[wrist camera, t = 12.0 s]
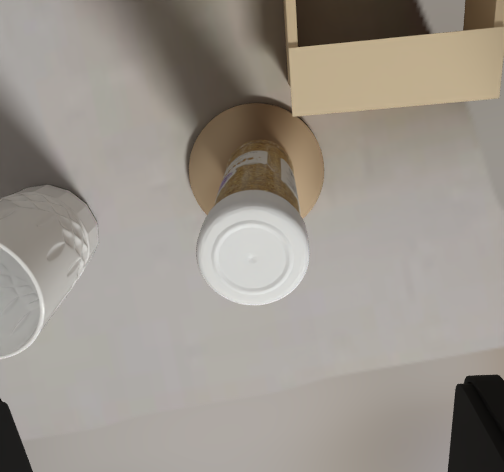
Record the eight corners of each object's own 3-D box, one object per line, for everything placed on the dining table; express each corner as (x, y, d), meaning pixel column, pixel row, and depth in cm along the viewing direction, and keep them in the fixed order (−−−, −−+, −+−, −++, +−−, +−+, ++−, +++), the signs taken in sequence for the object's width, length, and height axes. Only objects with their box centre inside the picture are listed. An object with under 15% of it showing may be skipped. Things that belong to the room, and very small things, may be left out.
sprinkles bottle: (233, 131, 29) (206, 190, 17) (302, 147, 29) (325, 218, 17) (219, 197, 31) (185, 296, 18) (284, 212, 31) (293, 320, 19)
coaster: (321, 96, 29) (321, 97, 28) (325, 229, 32) (326, 231, 31) (180, 109, 29) (179, 110, 29) (199, 238, 33) (198, 240, 32)
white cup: (-9, 171, 31) (-126, 222, 22) (104, 180, 31) (34, 234, 22) (7, 273, 34) (-90, 355, 25) (111, 281, 34) (51, 366, 25)
